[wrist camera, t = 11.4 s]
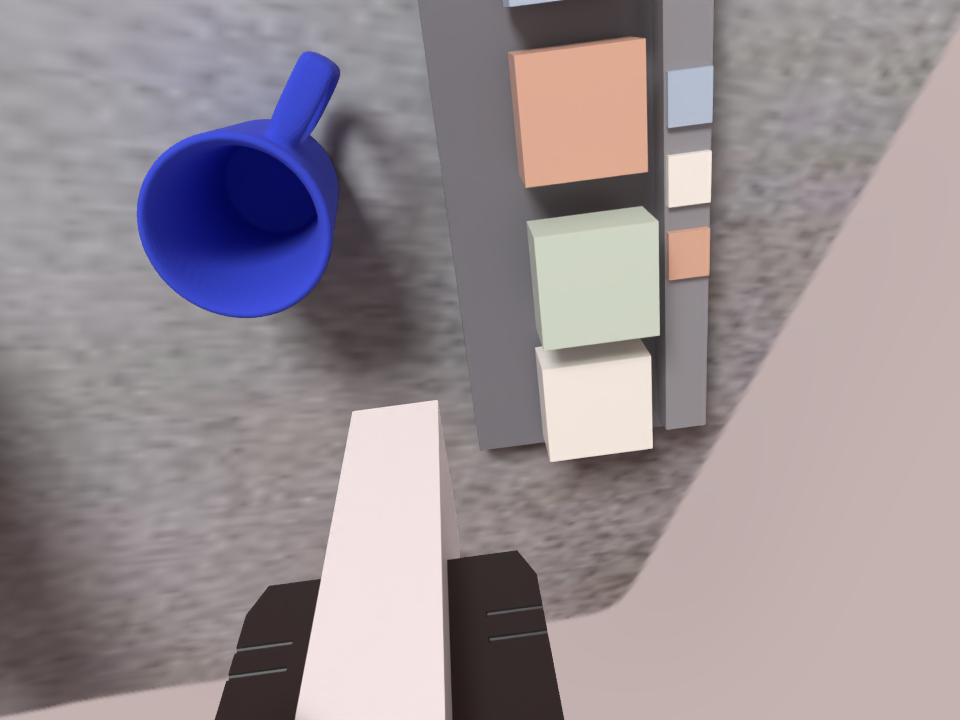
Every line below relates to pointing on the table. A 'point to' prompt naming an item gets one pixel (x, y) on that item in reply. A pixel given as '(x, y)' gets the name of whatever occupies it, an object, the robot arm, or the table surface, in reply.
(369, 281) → the table surface
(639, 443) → the ivory key
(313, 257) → the mug
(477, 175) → the keypad
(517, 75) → the terracotta key
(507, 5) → the blue key
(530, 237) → the sage key
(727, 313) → the table surface
